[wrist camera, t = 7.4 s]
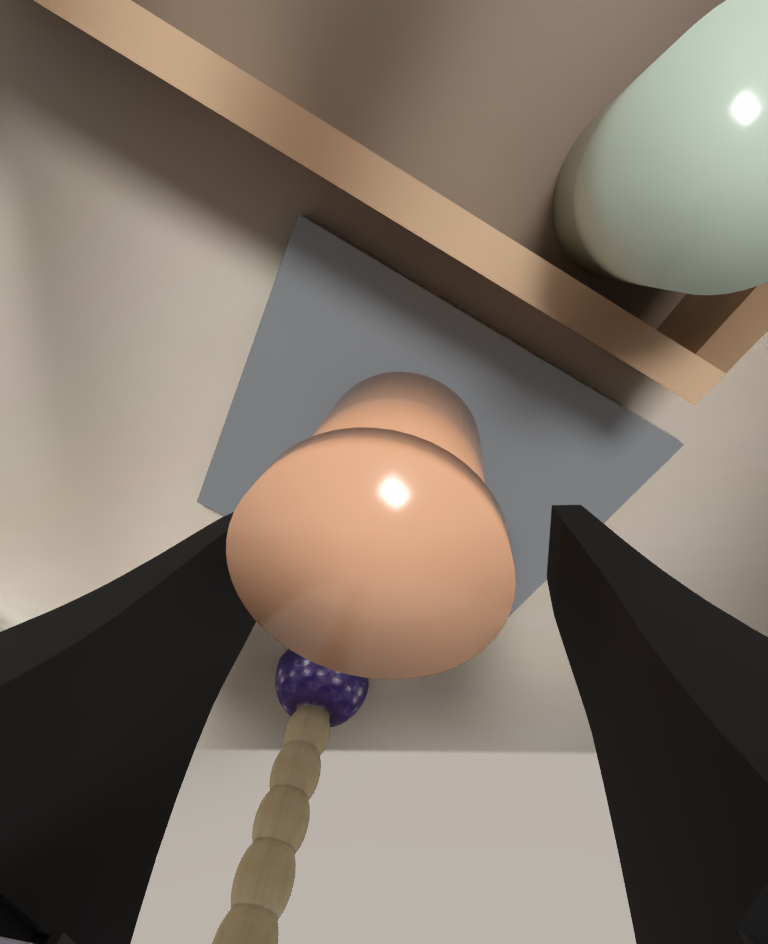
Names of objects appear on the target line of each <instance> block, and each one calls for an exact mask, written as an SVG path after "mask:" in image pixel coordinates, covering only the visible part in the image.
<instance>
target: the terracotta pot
mask: <svg viewBox="0 0 768 944" xmlns="http://www.w3.org/2000/svg"><path fill="white" fill-rule="evenodd" d="M226 557H227V565H228V570H229V573H230V577H231V580H232V583H233V585H234V587H235V589H236V592H237V594H238V596H239V598H240V599H241V601H242V603H243V604H244V606H245V607H246V609H247V610H248V611H249V613H250V614H251V615H252V617H253V618H254V619H255V620H256V621H257V622H258V623H259V624H260V625H261V627H262V628H263V629H264V630H265V631H266V632H268V633H269V634H270V635H271V636H272V637H273V638H275V639H276V640H277V641H278V642H280V643H281V644H283V645H284V646H285V647H287V648H288V649H290V650H291V651H293V652H295V653H296V654H298V655H300V656H302V657H303V658H305V659H308V660H310V661H312V662H314V663H316V664H318V665H321V666H323V667H326V668H329V669H332V670H334V671H338V672H342V673H345V674H349V675H354V676H359V677H365V678H373V679H394V680H399V679H411V678H418V677H424V676H430V675H433V674H437V673H440V672H444V671H446V670H449V669H451V668H454V667H456V666H459V665H460V664H462V663H464V662H466V661H468V660H469V659H471V658H473V657H474V656H475V655H477V654H478V653H479V652H481V651H482V650H484V649H485V648H486V647H487V646H488V645H489V644H490V643H491V642H492V641H493V640H494V639H495V637H496V636H497V635H498V633H499V632H500V630H501V629H502V628H503V626H504V624H505V622H506V620H507V618H508V616H509V614H510V611H511V608H512V604H513V601H514V595H515V586H516V582H515V568H514V562H513V557H512V551H511V546H510V541H509V535H508V531H507V526H506V522H505V518H504V516H503V514H502V511H501V509H500V506H499V504H498V502H497V501H496V499H495V497H494V496H493V494H492V492H491V491H490V489H489V488H488V487H487V485H486V482H485V475H484V467H483V459H482V451H481V443H480V435H479V431H478V427H477V424H476V422H475V419H474V417H473V415H472V413H471V411H470V410H469V408H468V406H467V405H466V404H465V403H464V401H463V400H462V399H461V398H460V397H459V396H458V395H457V394H456V393H455V392H454V391H452V390H451V389H450V388H448V387H447V386H446V385H444V384H442V383H440V382H439V381H437V380H435V379H432V378H430V377H427V376H424V375H420V374H416V373H409V372H389V373H383V374H379V375H375V376H372V377H370V378H367V379H365V380H363V381H361V382H359V383H358V384H356V385H355V386H353V387H352V388H351V389H350V390H348V391H347V392H346V393H345V394H344V395H343V396H342V397H341V399H340V400H339V401H338V402H337V404H336V405H335V406H334V407H333V409H332V410H331V411H330V413H329V414H328V415H327V417H326V418H325V419H324V421H323V422H322V423H321V424H320V426H319V427H318V428H317V430H316V431H315V432H314V434H313V435H312V436H311V437H310V438H308V439H305V440H303V441H301V442H299V443H297V444H296V445H294V446H292V447H291V448H289V449H287V450H286V451H285V452H284V453H283V454H281V455H280V456H279V457H278V458H276V459H275V460H274V462H273V463H272V464H271V465H270V466H269V467H268V468H267V469H266V471H265V472H264V473H263V474H262V475H261V476H260V478H259V479H258V480H257V481H256V482H255V483H254V485H253V486H252V487H251V488H250V489H249V490H248V492H247V493H246V494H245V495H244V496H243V498H242V499H241V501H240V503H239V504H238V506H237V507H236V509H235V511H234V513H233V516H232V519H231V521H230V524H229V528H228V533H227V538H226Z"/></svg>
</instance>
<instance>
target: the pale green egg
mask: <svg viewBox="0 0 768 944" xmlns="http://www.w3.org/2000/svg"><path fill="white" fill-rule="evenodd" d="M553 211H554V223H555V228H556V232H557V235H558V238H559V241H560V243H561V245H562V247H563V249H564V251H565V252H566V254H567V255H568V256H569V258H570V259H571V260H572V261H573V262H574V263H575V264H576V265H577V266H579V267H580V268H581V269H583V270H584V271H586V272H588V273H590V274H592V275H594V276H597V277H600V278H604V279H610V280H615V281H621V282H626V283H632V284H637V285H643V286H648V287H654V288H659V289H665V290H670V291H676V292H681V293H687V294H693V295H719V294H729V293H733V292H738V291H742V290H746V289H749V288H752V287H755V286H758V285H761V284H764V283H766V282H768V0H726V1H724V2H723V3H721V4H720V5H718V6H717V7H715V8H714V9H713V10H711V11H710V12H709V13H708V14H706V15H705V16H704V17H703V18H701V19H700V20H699V21H698V22H697V23H695V24H694V25H693V26H692V27H691V28H690V29H689V30H688V31H687V32H685V33H684V34H683V35H682V36H681V37H680V38H679V39H678V40H677V41H676V42H675V43H674V44H673V45H672V46H671V47H669V48H668V49H667V50H666V51H665V52H664V53H663V54H662V55H661V56H660V57H659V58H658V59H657V60H656V61H655V62H653V63H652V64H651V65H650V66H649V67H648V68H647V69H646V70H645V71H644V72H643V73H642V74H641V75H640V76H639V77H637V78H636V79H635V80H634V81H633V82H632V83H631V84H630V85H629V86H628V87H627V88H626V89H625V90H624V91H622V92H621V93H620V94H619V95H618V96H617V97H616V98H615V99H614V100H613V101H612V102H611V103H610V104H609V105H608V106H606V107H605V108H604V109H603V110H602V111H601V112H600V113H599V114H598V115H597V116H596V117H595V118H594V119H593V120H592V121H591V122H590V123H589V124H588V125H587V126H586V128H585V129H584V130H583V131H582V132H581V134H580V135H579V136H578V138H577V139H576V141H575V142H574V144H573V145H572V147H571V149H570V151H569V153H568V154H567V156H566V158H565V160H564V163H563V165H562V168H561V170H560V173H559V177H558V180H557V184H556V189H555V195H554V207H553Z"/></svg>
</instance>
